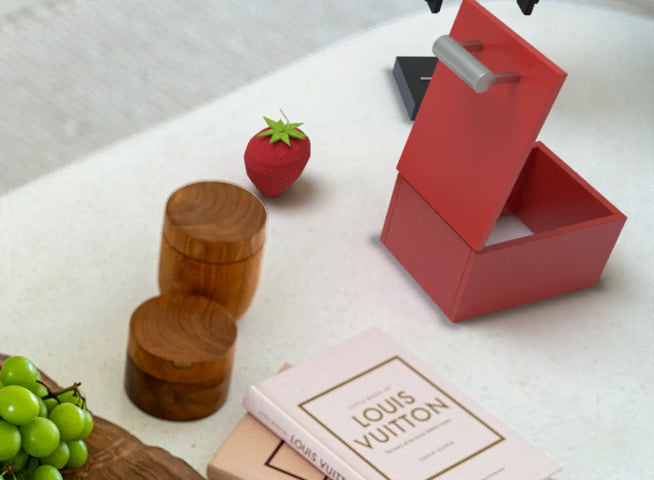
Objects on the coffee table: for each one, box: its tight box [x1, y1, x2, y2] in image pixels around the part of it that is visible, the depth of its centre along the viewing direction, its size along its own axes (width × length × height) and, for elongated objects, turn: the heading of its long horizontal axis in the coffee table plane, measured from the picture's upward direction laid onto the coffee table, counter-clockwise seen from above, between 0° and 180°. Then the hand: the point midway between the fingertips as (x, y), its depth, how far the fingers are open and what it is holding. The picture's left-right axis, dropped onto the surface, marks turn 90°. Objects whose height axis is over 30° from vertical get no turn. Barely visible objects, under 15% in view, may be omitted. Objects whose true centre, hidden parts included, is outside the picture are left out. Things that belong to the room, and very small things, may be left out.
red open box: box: [379, 140, 628, 324], centre depth 106 cm, size 16×13×9 cm
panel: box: [391, 55, 439, 122], centre depth 128 cm, size 12×10×3 cm
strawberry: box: [243, 108, 312, 199], centre depth 113 cm, size 6×8×10 cm
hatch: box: [395, 0, 569, 251], centre depth 95 cm, size 16×13×5 cm
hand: (477, 8), depth 121 cm, fingers open, 9 cm apart
